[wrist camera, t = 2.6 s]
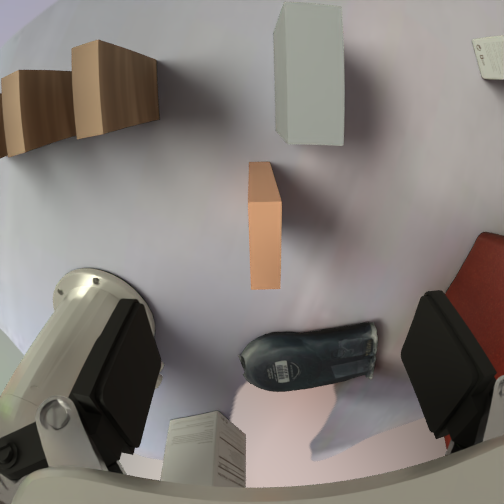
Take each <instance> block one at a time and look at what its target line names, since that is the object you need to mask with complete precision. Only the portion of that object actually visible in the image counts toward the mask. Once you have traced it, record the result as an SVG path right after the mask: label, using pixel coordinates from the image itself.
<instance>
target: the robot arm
mask: <svg viewBox="0 0 504 504" xmlns="http://www.w3.org/2000/svg"><path fill="white" fill-rule="evenodd" d="M53 307H54V310H55V311H54V313H53V314H52V316H51V317H50V318H49V320H48V321H47V323H46V324H45V326H44V327H43V328H42V330H41V331H40V333H39V334H38V336H37V337H36V339H35V340H34V342H33V343H32V345H31V346H30V348H29V349H28V351H27V352H26V354H25V356H24V357H23V359H22V360H21V362H20V364H19V365H18V367H17V368H16V370H15V372H14V374H13V375H12V377H11V378H10V380H9V382H8V384H7V385H6V387H5V389H4V391H3V392H2V394H1V396H0V504H504V375H502V376H500V377H499V378H498V379H497V380H496V379H495V377H494V376H495V375H496V373H497V372H496V370H495V368H494V367H493V365H492V363H491V362H490V360H489V358H488V357H487V355H486V354H485V352H484V350H483V349H482V347H481V346H480V344H479V343H478V341H477V340H476V338H475V336H474V335H473V333H472V332H471V330H470V329H469V328H468V326H467V325H466V323H465V322H464V320H463V319H462V317H461V316H460V315H459V313H458V312H457V310H456V309H455V307H454V306H453V305H452V303H451V302H450V301H449V299H448V298H447V297H446V295H445V294H444V293H443V292H442V291H440V290H438V291H428V292H426V293H425V294H424V296H422V297H421V299H420V301H419V304H418V307H417V310H416V313H415V316H414V319H413V321H412V324H411V327H410V330H409V332H408V335H407V337H406V340H405V343H404V345H403V348H402V350H401V359H402V361H403V364H404V366H405V368H406V371H407V373H408V376H409V378H410V381H411V383H412V385H413V388H414V390H415V393H416V396H417V398H418V401H419V403H420V406H421V409H422V411H423V414H424V417H425V419H426V422H427V425H428V427H429V430H430V431H431V432H434V435H435V438H436V439H438V438H441V437H444V436H447V435H450V437H451V441H450V444H449V446H448V449H447V451H446V454H445V456H443V457H440V458H437V459H434V460H431V461H428V462H425V463H422V464H418V465H415V466H411V467H407V468H404V469H400V470H396V471H392V472H387V473H383V474H378V475H374V476H369V477H364V478H359V479H353V480H347V481H340V482H333V483H325V484H316V485H305V486H292V487H270V488H235V487H214V486H201V485H190V484H181V483H173V482H166V481H159V480H152V479H146V478H140V477H135V476H130V475H127V474H126V472H125V471H124V469H123V467H122V465H121V463H120V462H119V460H120V456H121V452H122V453H127V454H132V455H133V453H134V449H135V448H138V447H139V446H140V443H141V439H142V435H143V431H144V427H145V423H146V420H147V416H148V412H149V408H150V405H151V401H152V397H153V394H154V390H155V389H156V388H158V386H159V385H160V383H161V382H162V379H163V376H162V375H161V374H160V371H161V370H162V369H163V367H164V363H163V362H162V361H161V358H160V355H159V352H158V349H157V345H156V342H155V339H154V335H155V322H154V319H153V315H152V313H151V311H150V309H149V307H148V305H147V304H146V302H145V301H144V300H143V298H142V297H141V296H140V295H139V294H138V293H137V292H136V291H135V290H134V289H133V288H132V287H131V286H129V285H128V284H127V283H126V282H124V281H123V280H121V279H119V278H118V277H116V276H114V275H112V274H109V273H107V272H104V271H101V270H97V269H91V268H82V269H77V270H73V271H71V272H69V273H67V274H66V275H65V276H64V277H63V278H62V279H61V280H60V281H59V283H58V284H57V285H56V287H55V290H54V294H53Z"/></svg>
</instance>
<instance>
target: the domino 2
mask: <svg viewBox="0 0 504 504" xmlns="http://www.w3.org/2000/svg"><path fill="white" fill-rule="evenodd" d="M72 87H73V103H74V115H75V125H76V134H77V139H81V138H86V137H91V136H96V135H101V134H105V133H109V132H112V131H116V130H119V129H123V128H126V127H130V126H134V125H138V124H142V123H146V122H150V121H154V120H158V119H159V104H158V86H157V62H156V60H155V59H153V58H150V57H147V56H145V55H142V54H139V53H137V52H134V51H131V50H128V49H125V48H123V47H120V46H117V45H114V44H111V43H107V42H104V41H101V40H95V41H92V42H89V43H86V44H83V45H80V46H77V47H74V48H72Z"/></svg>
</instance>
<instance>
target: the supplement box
mask: <svg viewBox="0 0 504 504" xmlns="http://www.w3.org/2000/svg"><path fill="white" fill-rule="evenodd" d="M245 462H246V435H245V434H244V433H243V432H242V431H241V430H239V429H238V428H237V427H236V426H235V425H234V424H233V423H231V422H230V421H229V420H228V419H227V418H226V417H224V416H223V415H222V414H221V413H220V412H219V411H214V412H210V413H205V414H200V415H195V416H190V417H185V418H179V419H174V420H170V424H169V429H168V435H167V441H166V447H165V453H164V459H163V466H162V472H161V479H160V481H166V482H173V483H181V484H190V485H201V486H214V487H235V488H246V486H245V484H246V482H245V481H246V463H245Z"/></svg>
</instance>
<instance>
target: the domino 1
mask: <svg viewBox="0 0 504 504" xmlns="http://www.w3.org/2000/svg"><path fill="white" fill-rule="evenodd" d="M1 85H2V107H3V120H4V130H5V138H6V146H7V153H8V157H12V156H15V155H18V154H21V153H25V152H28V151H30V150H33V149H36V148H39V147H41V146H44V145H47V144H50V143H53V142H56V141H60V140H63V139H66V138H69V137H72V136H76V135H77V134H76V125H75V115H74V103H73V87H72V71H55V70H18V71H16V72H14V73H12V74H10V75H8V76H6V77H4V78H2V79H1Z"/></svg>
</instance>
